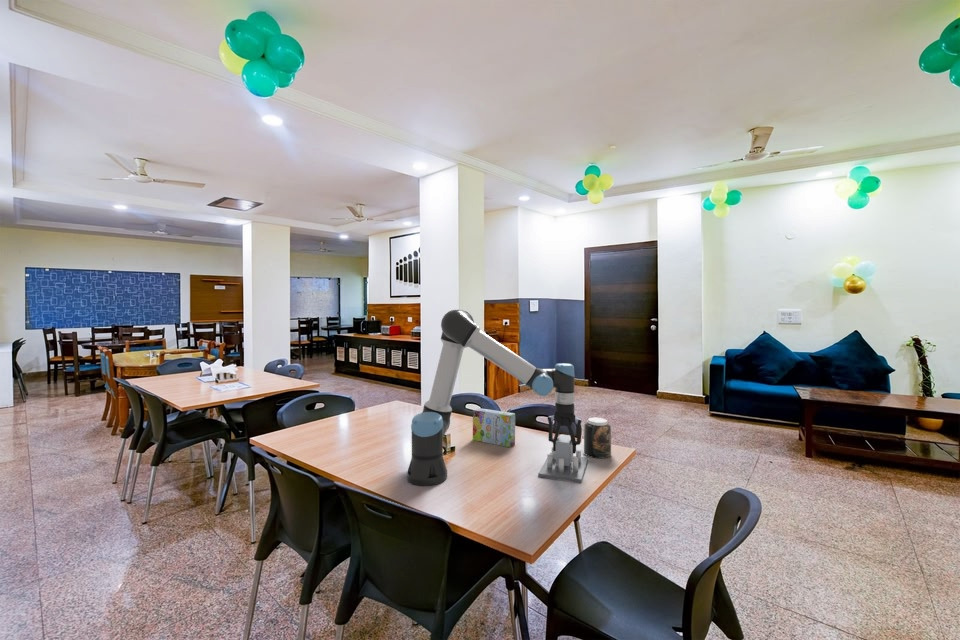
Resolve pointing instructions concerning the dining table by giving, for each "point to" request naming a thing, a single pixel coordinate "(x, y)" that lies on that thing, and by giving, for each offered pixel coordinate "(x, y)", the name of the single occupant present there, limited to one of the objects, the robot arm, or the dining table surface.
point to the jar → (597, 438)
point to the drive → (563, 449)
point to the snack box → (494, 427)
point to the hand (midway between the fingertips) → (564, 459)
